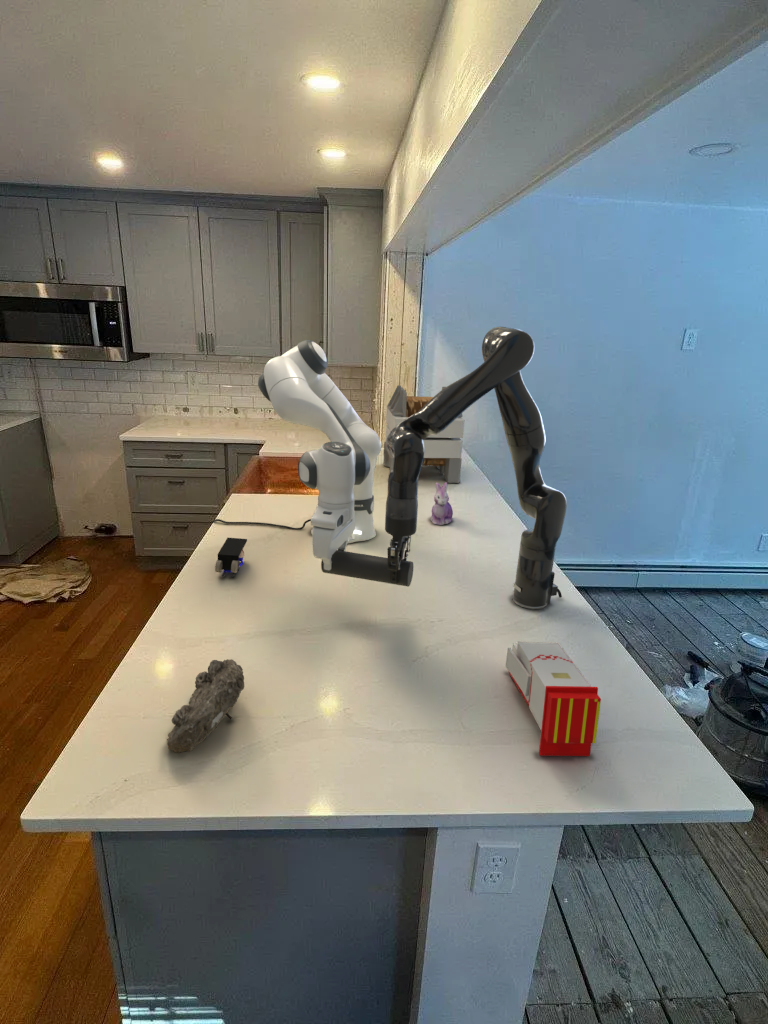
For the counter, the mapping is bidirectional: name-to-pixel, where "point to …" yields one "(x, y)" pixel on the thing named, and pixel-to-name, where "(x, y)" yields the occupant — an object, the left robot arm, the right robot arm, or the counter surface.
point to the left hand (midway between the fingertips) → (335, 561)
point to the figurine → (441, 506)
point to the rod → (367, 567)
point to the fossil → (206, 705)
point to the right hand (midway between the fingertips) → (398, 576)
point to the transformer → (438, 447)
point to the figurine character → (230, 556)
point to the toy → (556, 697)
